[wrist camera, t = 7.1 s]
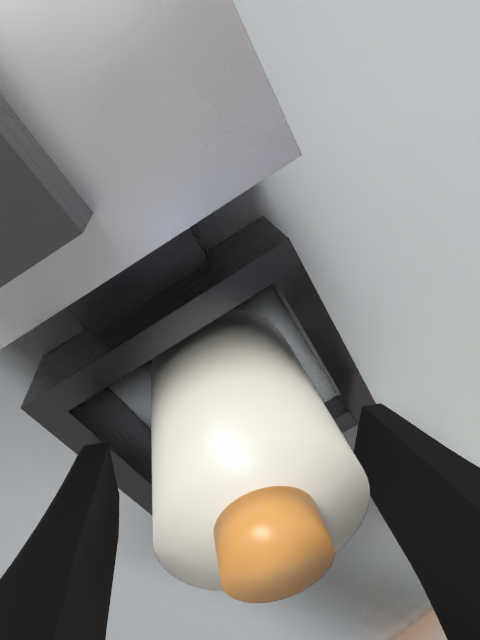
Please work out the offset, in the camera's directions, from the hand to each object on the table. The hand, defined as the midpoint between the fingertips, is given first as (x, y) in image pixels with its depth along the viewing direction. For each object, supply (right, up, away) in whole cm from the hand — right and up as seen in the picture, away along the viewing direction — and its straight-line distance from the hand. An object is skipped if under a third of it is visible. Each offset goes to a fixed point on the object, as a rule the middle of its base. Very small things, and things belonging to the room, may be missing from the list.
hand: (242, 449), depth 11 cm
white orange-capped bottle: (-1, +2, +3) cm, 4 cm away
